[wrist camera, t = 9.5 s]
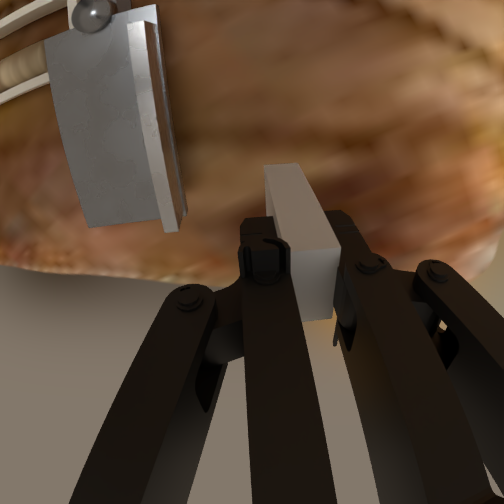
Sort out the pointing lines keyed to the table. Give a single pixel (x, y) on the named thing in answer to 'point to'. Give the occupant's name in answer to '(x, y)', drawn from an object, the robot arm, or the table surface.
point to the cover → (117, 115)
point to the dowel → (23, 66)
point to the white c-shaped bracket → (44, 5)
